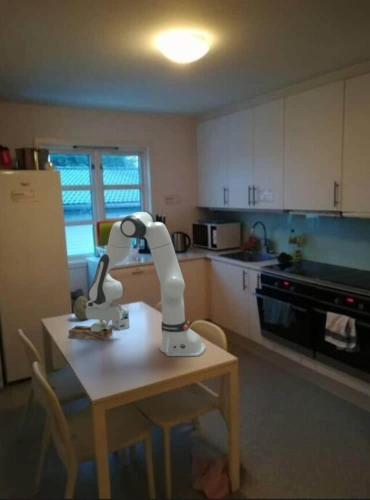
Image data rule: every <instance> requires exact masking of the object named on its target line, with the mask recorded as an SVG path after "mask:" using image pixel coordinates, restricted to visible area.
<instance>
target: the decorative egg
mask: <svg viewBox="0 0 370 500" xmlns="http://www.w3.org/2000/svg"><path fill="white" fill-rule="evenodd" d="M89 301H90V300H89V299H88V298H87V297H86V296H84V295H80V296H78V297H77V298H76V300H75V301H74V305H73V309H72V311H73V315H74V316H75V318H76V319H78V320H81V321H83V320H86V319H87V317H86V307H88V306H87V305H86V303H87V302H89Z"/></svg>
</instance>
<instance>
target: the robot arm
mask: <svg viewBox="0 0 370 500" xmlns="http://www.w3.org/2000/svg"><path fill="white" fill-rule="evenodd" d="M132 239H146V241H147V244H148V248H149V251H150V253H151V257H152V261H153V264H154V267H155V269H156V274H157V278H158V280H159V281H158V282H159V283H160V299H161V301H160V303H161V325H160V326H161V336H162V337H161V343H160V348H159V350H160V352H162V353H164V354H165V355H166V356H168V357H199V356H201V355H202V354H204V352H205V351H206V344H205V343H203V342H202V341H201V337H200V334H198V333H197V332H195V331H194V330H192V329H191V328H190V320H188V321H186V319H185V318H186V317H185V316H186V314H185V299H184V298H185V297H184V291H185V288H186V283H185V280H184V277H183V273H182V271H181V267H180V264H179V261H178V257H177V255H176V251H175V247H174V244H173V241H172V239H171V235H170V233H169V231H168V228H167V227H166V225H165V224H164V223H163V222H161V221H155V217H154V215H153V214H152V213H151V212H150V211H147V210H140V211H138V212H133V213H130V214H129V215H127V216H125V217H123V219H122V221H116V222H115V223H113V224H112V227H111V229H110V232H109V237H108V242H107V246H106V249H105V251H104V253H103V254H102V255H101V257H100V258H99V261H98V264H97V266H96V270H95V274H94V278H93V281H92V284H91V286H90V288H89V291H88V296H89V297H88V298H89V299H90V300H89V302H87V303H86V305H87V306H88V307H86V317H87V319H88V320H98V322H100V323H101V324H102V327H104V328H109V322H110V321H112V320H114V321H120V320H121V319H122V304H120V303H118V302H113V300H117V299H119V298H122V297H123V295H124V291H125V288H124V285H123V283H122V282H121V281H119V280H116V279H115V278H114V277H112V276H111V275H110V273H109V272H110V271H111V270H112V268H113V267H114V266H116V265H118V264H119V263H122V262H124V260H126V259H127V258H128V257H129V254H130V251H131V246H132ZM104 322H105V323H104Z"/></svg>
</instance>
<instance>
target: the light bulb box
mask: <svg viewBox="0 0 370 500" xmlns="http://www.w3.org/2000/svg"><path fill="white" fill-rule="evenodd" d="M121 307H122V306H121ZM129 312H130V311H129V310H128V309H126V308H124V307H122V319H121V320H120V321H114V320H111V325H112V327H113V328H115V329H117V330H119V331H122V330H126V329H129V328H130V314H129Z"/></svg>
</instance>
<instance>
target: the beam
mask: <svg viewBox="0 0 370 500" xmlns="http://www.w3.org/2000/svg"><path fill="white" fill-rule="evenodd" d="M112 336H113V327H107V328H104V329H103V332H102V331H100V332H94V331H91V325H90V326H88V325H87V326H86V325H77V324H76V325H75V326H73V327H71V328H70V329H69V330H68V338H69V337H70V338H72V339H82V340H84V339H85V340H96V341H107V340H108V339H109V338H111V337H112Z"/></svg>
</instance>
